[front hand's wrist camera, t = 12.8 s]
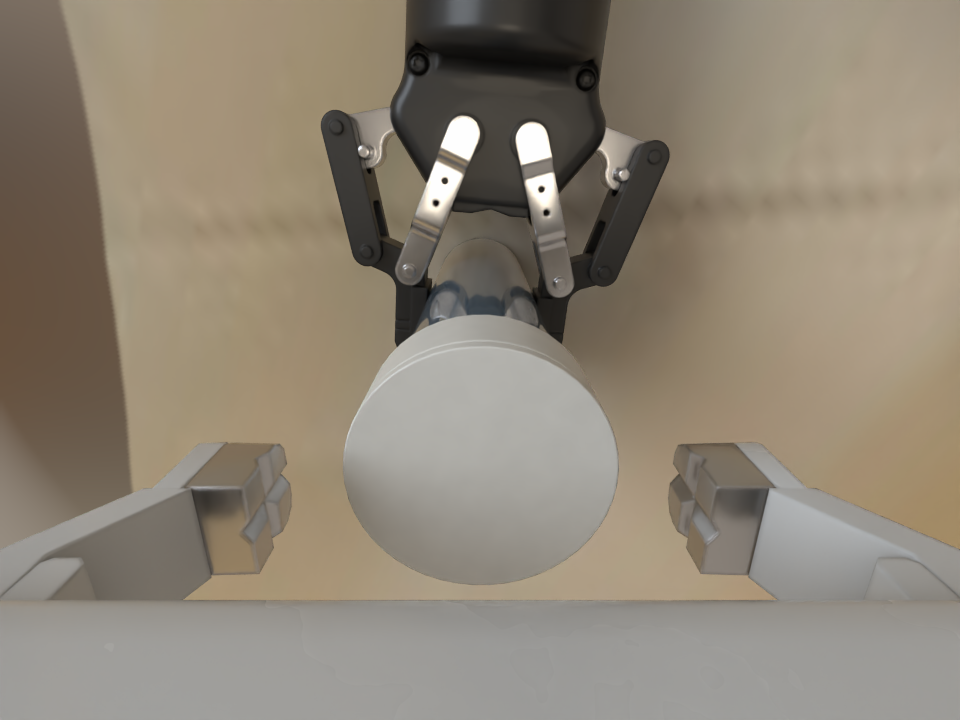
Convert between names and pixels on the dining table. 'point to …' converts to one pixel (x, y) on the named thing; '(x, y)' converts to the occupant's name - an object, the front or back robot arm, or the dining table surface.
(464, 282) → the dark grey piece
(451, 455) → the lid
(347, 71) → the dining table surface
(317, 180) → the dining table surface
